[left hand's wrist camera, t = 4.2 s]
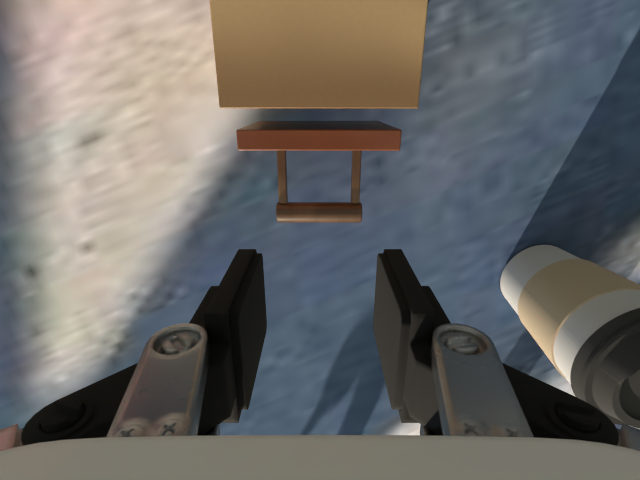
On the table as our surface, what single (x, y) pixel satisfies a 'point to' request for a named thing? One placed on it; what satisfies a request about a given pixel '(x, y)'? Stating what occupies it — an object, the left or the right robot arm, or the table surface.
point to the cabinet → (318, 53)
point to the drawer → (319, 138)
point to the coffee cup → (581, 325)
